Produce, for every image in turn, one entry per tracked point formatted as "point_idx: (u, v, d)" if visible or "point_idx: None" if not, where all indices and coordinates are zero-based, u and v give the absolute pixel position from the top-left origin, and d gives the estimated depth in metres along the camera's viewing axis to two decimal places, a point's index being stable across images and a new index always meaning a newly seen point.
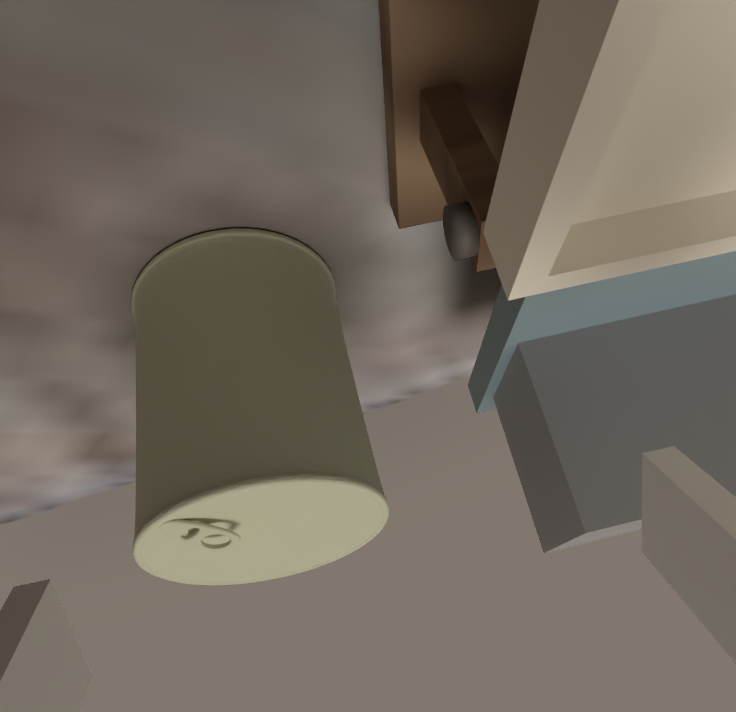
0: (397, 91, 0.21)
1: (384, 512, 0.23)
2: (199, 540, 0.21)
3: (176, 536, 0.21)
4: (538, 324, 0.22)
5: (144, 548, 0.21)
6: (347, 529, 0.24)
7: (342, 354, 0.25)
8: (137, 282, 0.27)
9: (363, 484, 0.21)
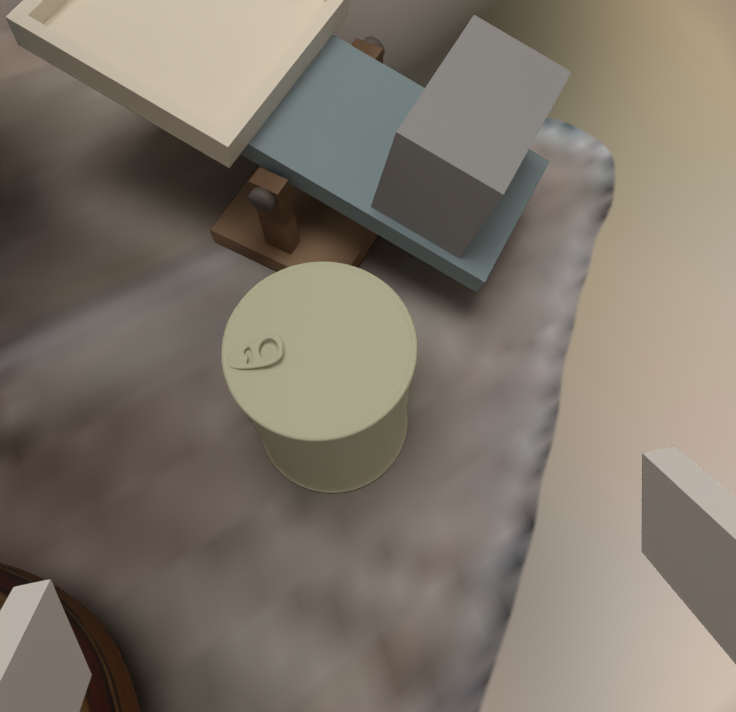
0: (259, 251, 0.43)
1: (363, 273, 0.31)
2: (258, 355, 0.29)
3: (243, 364, 0.29)
4: (355, 189, 0.37)
5: (243, 397, 0.28)
6: (369, 306, 0.30)
7: None
8: (264, 446, 0.39)
9: (314, 262, 0.31)
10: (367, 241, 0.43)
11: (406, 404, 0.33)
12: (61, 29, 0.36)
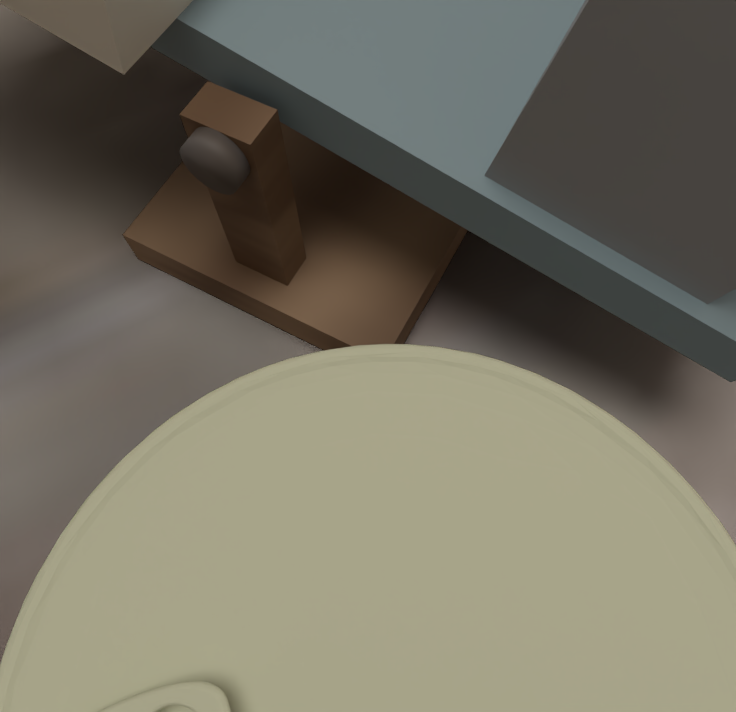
0: (222, 278, 0.21)
1: (545, 389, 0.08)
2: None
3: None
4: (444, 133, 0.15)
5: None
6: (580, 528, 0.08)
7: None
8: None
9: (360, 345, 0.09)
10: (444, 257, 0.21)
11: None
12: None
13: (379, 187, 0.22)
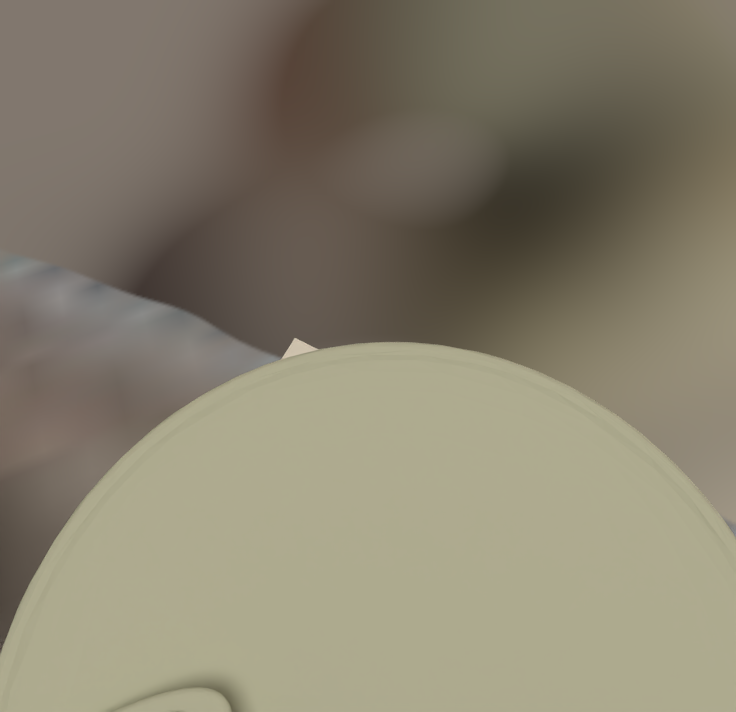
0: None
1: (549, 388, 0.08)
2: None
3: None
4: None
5: None
6: (584, 529, 0.08)
7: None
8: None
9: (361, 344, 0.09)
10: None
11: None
12: None
13: None
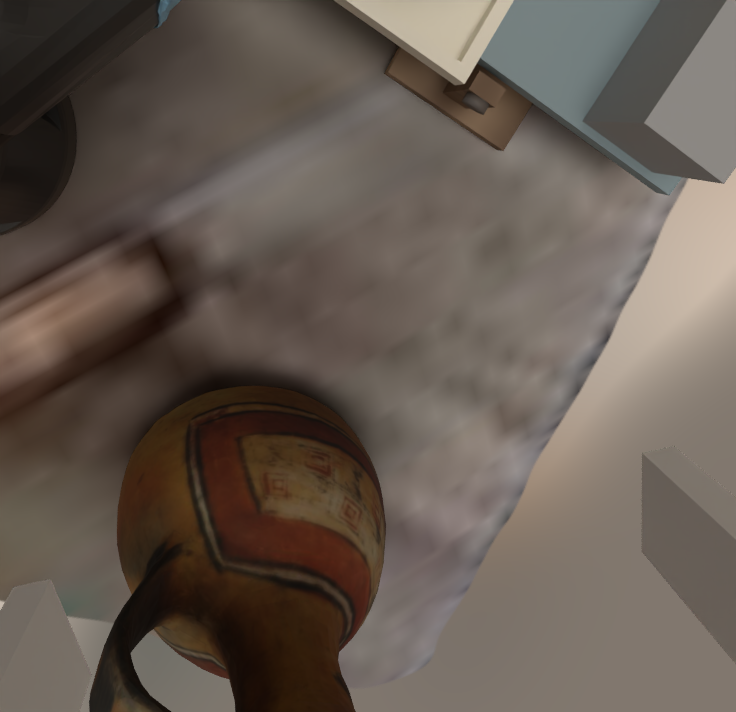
0: (436, 102, 0.44)
1: None
2: None
3: None
4: (571, 102, 0.38)
5: None
6: None
7: None
8: None
9: None
10: None
11: None
12: None
13: None
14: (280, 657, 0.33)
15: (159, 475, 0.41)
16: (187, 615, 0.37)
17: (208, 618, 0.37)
